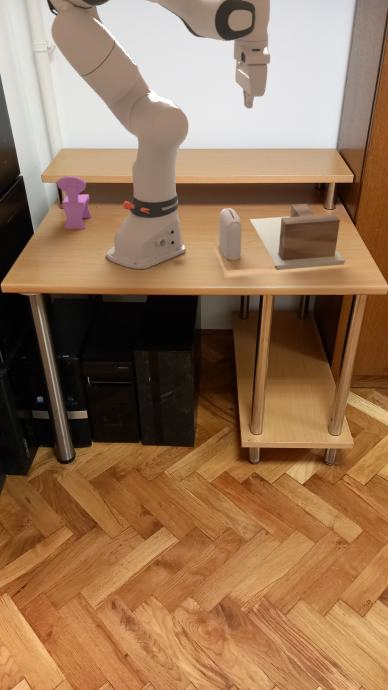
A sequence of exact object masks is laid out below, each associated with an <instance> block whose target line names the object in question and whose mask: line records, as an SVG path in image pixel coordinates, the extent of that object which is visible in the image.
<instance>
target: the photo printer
mask: <svg viewBox="0 0 388 690" xmlns="http://www.w3.org/2000/svg"><path fill="white" fill-rule="evenodd" d="M218 231H219V233H218V234H219V236H218V237H219V238H218V240H219V246H218V247H219V248H220V251H221V253H222V255H223V256H224V258H225V259H226V260H230V261H231V260H232V261H235V260H239V259H241V258H242V257H241V255H242V254H241V253H242V222H241V218H240V217H239V215H238V213H237V212H236V211H235V210H234V209H233V208H231V207H228V208H227V207H226V208H223V209H222V210H221V211H220V213H219V230H218Z"/></svg>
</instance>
